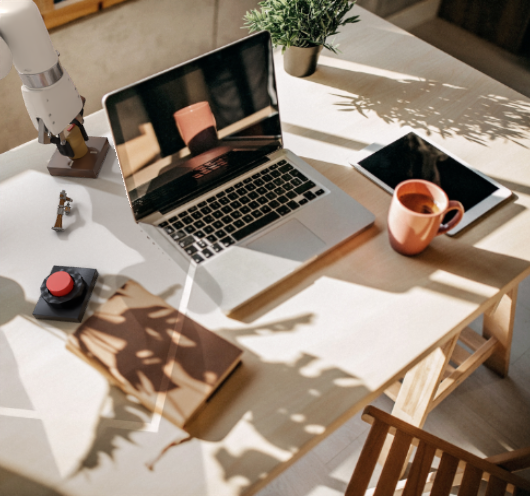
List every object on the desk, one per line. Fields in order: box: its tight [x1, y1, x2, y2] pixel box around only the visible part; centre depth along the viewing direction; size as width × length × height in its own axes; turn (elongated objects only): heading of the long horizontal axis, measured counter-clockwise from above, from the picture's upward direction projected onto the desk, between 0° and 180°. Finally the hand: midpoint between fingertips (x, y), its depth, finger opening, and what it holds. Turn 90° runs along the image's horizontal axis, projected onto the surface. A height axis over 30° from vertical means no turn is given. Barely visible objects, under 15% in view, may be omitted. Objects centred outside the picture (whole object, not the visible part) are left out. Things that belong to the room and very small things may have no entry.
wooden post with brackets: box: [50, 189, 74, 232], centre depth 96 cm, size 2×8×4 cm, turn 174°
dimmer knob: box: [63, 124, 88, 159], centre depth 102 cm, size 4×4×6 cm
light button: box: [46, 271, 74, 297], centre depth 83 cm, size 4×4×2 cm
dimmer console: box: [46, 135, 111, 179], centre depth 105 cm, size 10×10×3 cm
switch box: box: [32, 264, 100, 324], centre depth 85 cm, size 8×10×4 cm
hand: (75, 146), depth 103 cm, fingers closed on dimmer knob, 4 cm apart
